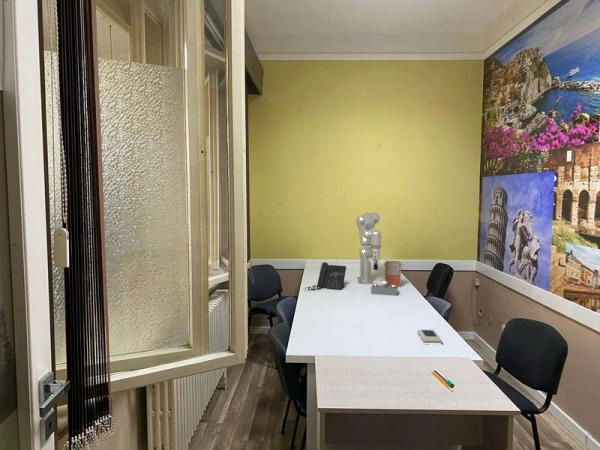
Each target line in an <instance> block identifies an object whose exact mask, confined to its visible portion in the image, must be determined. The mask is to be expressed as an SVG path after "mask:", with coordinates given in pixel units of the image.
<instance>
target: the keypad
mask: <svg viewBox="0 0 600 450" xmlns="http://www.w3.org/2000/svg"><path fill="white" fill-rule="evenodd" d="M417 333H418V334H417ZM417 333H416V334H417V336H418V335H419V336H420V338H421V339H420V338H419V339H420V341H421V340H422V341H423V342H422V341H421V342H422V344H423V343H442V344H443V340H442V339H441V337H440V336H439V335H438V333H437V332H436V331H435V329H418V330H417ZM419 336H418V337H419Z"/></svg>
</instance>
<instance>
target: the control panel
mask: <svg viewBox="0 0 600 450" xmlns="http://www.w3.org/2000/svg"><path fill="white" fill-rule="evenodd" d="M383 265H384V267H385V268H384V281H387V284H386V286H391V285H392V284H394V285H396V286H398V288H401V285H402V282H401V281H402V277H401V276H402V266H403V264H402V261H400V260H385V261H384V263H383Z"/></svg>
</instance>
